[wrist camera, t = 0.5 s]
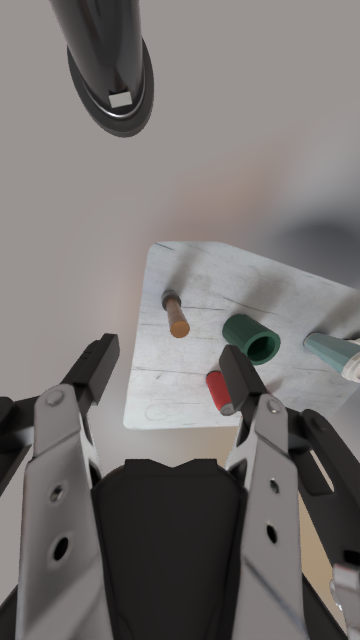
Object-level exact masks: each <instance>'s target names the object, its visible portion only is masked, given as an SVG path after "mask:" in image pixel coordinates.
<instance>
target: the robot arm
mask: <svg viewBox="0 0 360 640" xmlns="http://www.w3.org/2000/svg"><path fill="white" fill-rule="evenodd" d="M49 2H50V4H51V6H52V9H53V11H54V13H55V16H56V18H57V21H58V23H59V26H60V28H61V30H62V33H63V35H64V37H65V40H66V42H67V45H68V47H69V50H70V52H71V55H72V57H73V59H74V62H75V64H76V67H77V69H78V72H79V75H80V78H81V80H82V83H83V85H84V87H85V90H86V92H87V94H88V95H89V97H90V99H91V100H92V102H93V103H94V104H95V106H96V107H97V108H98V109H99V110H100V111H101V112H102V113H103V114H105V115H106V116H108V117H109V118H111V119H114V120H117V121H125V120H129V119H131V118H132V117H134V116H135V115H136V114H137V112H138V111H139V109H140V108H141V105H142V103H143V99H144V95H145V69H144V62H143V51H142V36H141V22H140V9H139V0H49ZM119 353H120V348H119V341H118V335H117V334H108V333H106V334H104V335H103V336H102V338H101V339H100V340H95V341H94V342H92V343H91V344H90V345H88V347H87V348H86V349H85V351H84V352H83V354H82V355H81V356H80V358H79V359H78V360H77V361H76V363H75V364H74V365H73V367H72V368H71V370H70V371H69V372H68V374H67V375H66V377H65V378H64V379H63V381H62V382H61V383H60V384H59V385H56V386H54V387H51V388H50V389H48V390H47V391H45V392H44V393H43V394H42V395H40V396H37V397H32V398H28V399H24V400H19V401H15V402H14V401H12V400H11V399H10V398H9V397H0V496H1V495H2V493H3V492H4V490H5V488H6V487H7V485H8V484H9V482H10V480H11V479H12V477H13V475H14V474H15V472H16V470H17V468H18V467H19V465H20V464H21V462H22V460H23V459H24V457H25V455H26V454H27V452H28V451H29V449H30V447H31V446H32V444H34V452H33V457H32V459H31V460H30V461H29V462H28V463H27V465H26V468H25V473H24V484H23V503H22V522H21V543H20V560H19V579H18V584H17V585H16V587H15V588H14V589H13V590H12V592H11V593H10V594H9V596H8V597H7V598H6V599H5V601H4V602H3V603H2V604H1V606H0V640H360V463H359V462H358V460H357V459H356V458H355V456H354V455H353V454H352V453H351V451H350V450H349V448H348V447H347V446H346V444H345V443H344V442H343V440H342V439H341V438H340V436H339V435H338V434H337V432H336V431H335V430H334V428H333V427H332V426H331V424H330V423H329V422H328V421H327V420H326V419H325V418H324V417H323V416H322V415H320V414H319V413H317V412H316V411H313V410H310V409H305V410H304V411H302V412H301V413H300V412H298V411H295V410H292V409H290V408H287V407H285V406H284V405H283V404H282V403H281V401H280V400H278V399H277V398H276V397H274V396H272V395H270V394H269V393H268V391H267V389H266V388H265V386H264V384H263V382H262V380H261V379H260V377H259V375H258V373H257V372H256V370H255V368H254V366H253V364H252V363H251V361H250V359H249V358H248V357H247V356H246V355H245V354H244V353H241V351H240V349H239V347H238V346H237V345H228V344H227V345H226V346H225V348H224V350H223V352H222V354H221V356H220V359H219V364H220V368H221V371H222V374H223V377H224V380H225V383H226V387H227V390H228V393H229V396H230V399H231V402H232V405H233V408H234V411H241V413H242V416H241V419H240V423H239V426H238V430H237V433H236V437H235V441H234V444H233V448H232V450H231V452H230V454H229V455H228V458H227V460H226V463H225V466H224V468H223V467H221V466H219V465H218V464H217V460H216V459H194V460H191V461H189V462H186V463H184V464H181V465H179V466H176V467H173V468H171V467H168V466H165V465H163V464H161V463H158V462H155V461H153V460H150V459H126V460H125V464H124V465H123V466H120V467H118V468H116V469H114V470H113V471H111V472H110V473H108V474H107V475H106V476H105V477H104V476H103V472H102V468H101V464H100V460H99V457H98V454H97V451H96V448H95V444H94V440H93V436H92V432H91V427H90V423H89V419H88V414H87V412H88V410H89V408H90V406H91V405H98V403H99V401H100V399H101V396H102V394H103V392H104V390H105V387H106V385H107V383H108V380H109V378H110V376H111V374H112V371H113V369H114V367H115V364H116V362H117V360H118V357H119ZM311 450H314V452H315V454H316V455H317V457H318V459H319V460H320V462H321V464H322V466H323V467H324V469H325V471H326V473H327V474H328V476H329V478H330V479H331V481H332V484H333V486H334V492H333V491H332V490H331V489H330V487H329V485H328V483H327V481H326V480H325V478H324V476H323V475H322V473H321V471H320V469H319V467H318V465H317V464H316V462H315V460H314V458H313V456H312V455H311V453H310V451H311ZM298 490H299V492H300V494H301V497H302V499H303V502H304V504H305V506H306V509H307V511H308V513H309V515H310V518H311V520H312V522H313V525H314V527H315V529H316V531H317V534H318V536H319V538H320V541H321V543H322V545H323V547H324V550H325V552H326V554H327V557H328V559H329V561H330V564H331V566H332V568H333V571H332V573H333V574H332V575H333V579H331V580H330V590H331V594H332V596H333V599H334V601H335V602H336V604H337V606H338V608H339V609H340V610H341V611H342V612H343V615H344V618H345V622H346V628H347V636H346V634H345V633H344V631H343V630H342V629H341V627H340V626H339V624H338V623H337V621H336V620H335V619H334V617H333V616H332V614H331V613H330V611H329V610H328V608H327V607H326V606H325V604H324V603H323V601H322V600H321V598H320V597H319V596H318V594H317V593H316V591H315V590H314V589H313V587H312V586H311V584H310V583H309V581H308V580H307V578H306V577H305V576H304V574H303V573H302V570H301V549H300V548H301V547H300V526H299V525H300V524H299V502H298V501H299V500H298Z"/></svg>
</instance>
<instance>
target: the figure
mask: <svg viewBox="0 0 360 640" xmlns="http://www.w3.org/2000/svg"><path fill="white" fill-rule="evenodd" d="M345 341H349V342H352V343H355V344H359V345H360V338H358V339H356V340H345Z"/></svg>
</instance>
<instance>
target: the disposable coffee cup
mask: <svg viewBox="0 0 360 640" xmlns="http://www.w3.org/2000/svg"><path fill="white" fill-rule="evenodd" d="M304 345H305V347H306V348H307V349H308V350H309V351H311V352H312V353H313V354H315V355H316V356H317V357H319V358H320V359H321V360H323V361H324V362H325V363H327V364H328V365H329V366H331V367H332V368H333V369H335V370H336V371H337V372H339V373H340V374H341V375H343V377H344V378H346V379H348V380H353V381H355V382H360V345H359V344H355V343H352V342H349V341H345V340H342V339H338V338H335V337H332V336H328V335H325V334H321V333H312V334H310V335H309V336H308V337H307V338H306V339H305V341H304Z"/></svg>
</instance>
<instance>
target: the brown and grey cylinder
mask: <svg viewBox="0 0 360 640" xmlns="http://www.w3.org/2000/svg"><path fill="white" fill-rule="evenodd" d="M162 306H163V308H164V310H165V311H167V315H168V321H169V326H170V332H171V334H172V335H173V336H174V337H176V338H183V337H185V336H186V335H187V334H188V333H189V330H190V327H189V324H188V322H187V320H186V318H185V316H184V314H183V312H182V310H181V308H180V307H181V300H180V298H179V296H178V295H177V293H176V292H175V291H173V290H167V291H165V292H164V293H163V295H162Z"/></svg>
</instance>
